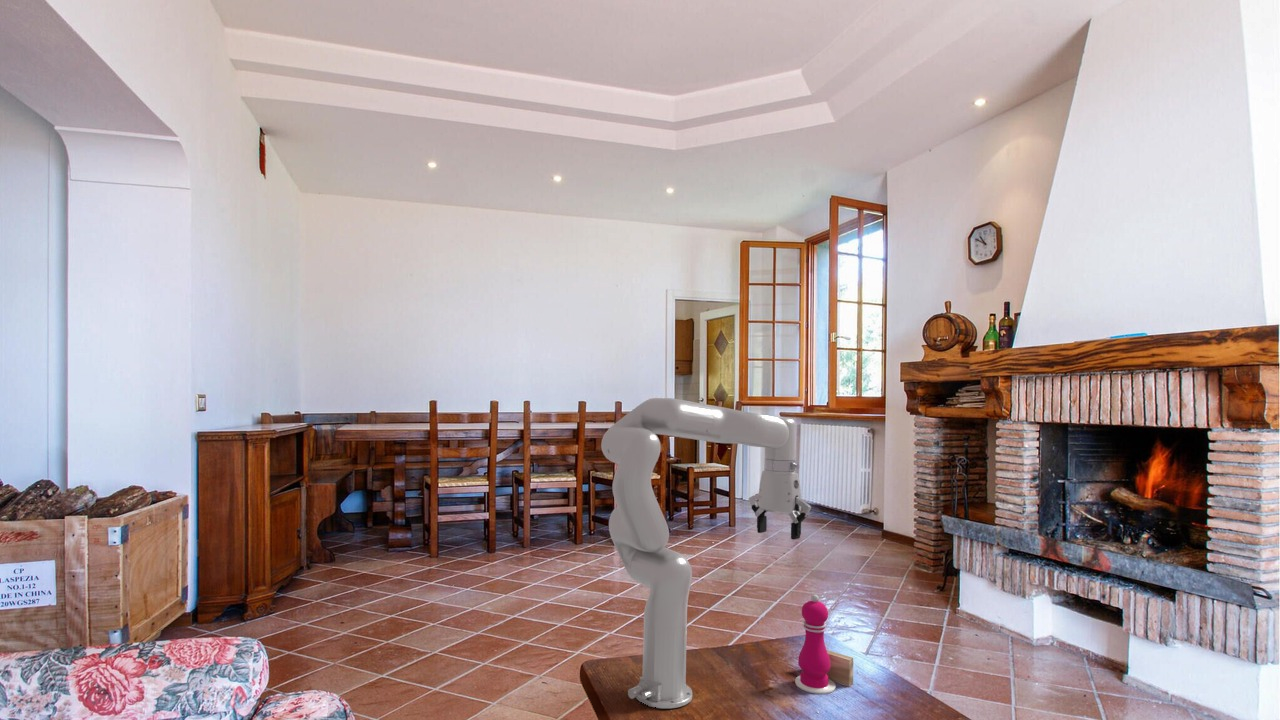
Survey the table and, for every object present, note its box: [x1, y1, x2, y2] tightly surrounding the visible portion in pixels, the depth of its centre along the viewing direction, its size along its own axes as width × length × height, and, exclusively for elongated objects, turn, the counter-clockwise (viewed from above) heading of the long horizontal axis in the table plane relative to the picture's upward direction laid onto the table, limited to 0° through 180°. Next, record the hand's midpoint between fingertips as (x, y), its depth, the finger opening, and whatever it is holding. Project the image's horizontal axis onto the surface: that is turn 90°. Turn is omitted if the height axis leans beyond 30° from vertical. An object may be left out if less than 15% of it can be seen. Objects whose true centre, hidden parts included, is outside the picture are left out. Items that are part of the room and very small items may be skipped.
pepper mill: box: [797, 594, 831, 688], centre depth 151 cm, size 7×7×20 cm
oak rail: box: [826, 649, 854, 688], centre depth 155 cm, size 2×12×6 cm, turn 47°
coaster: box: [794, 675, 836, 695], centre depth 151 cm, size 9×9×1 cm
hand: (778, 535), depth 163 cm, fingers open, 9 cm apart
